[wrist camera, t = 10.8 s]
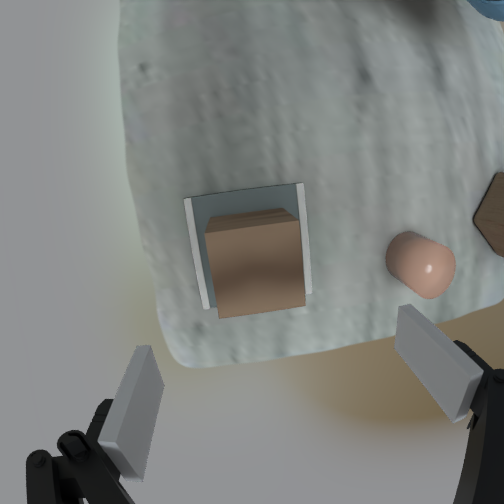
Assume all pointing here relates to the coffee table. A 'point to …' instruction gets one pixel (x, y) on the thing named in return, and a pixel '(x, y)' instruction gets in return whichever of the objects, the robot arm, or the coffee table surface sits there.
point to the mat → (236, 203)
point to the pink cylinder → (421, 264)
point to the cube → (255, 262)
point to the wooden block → (493, 215)
